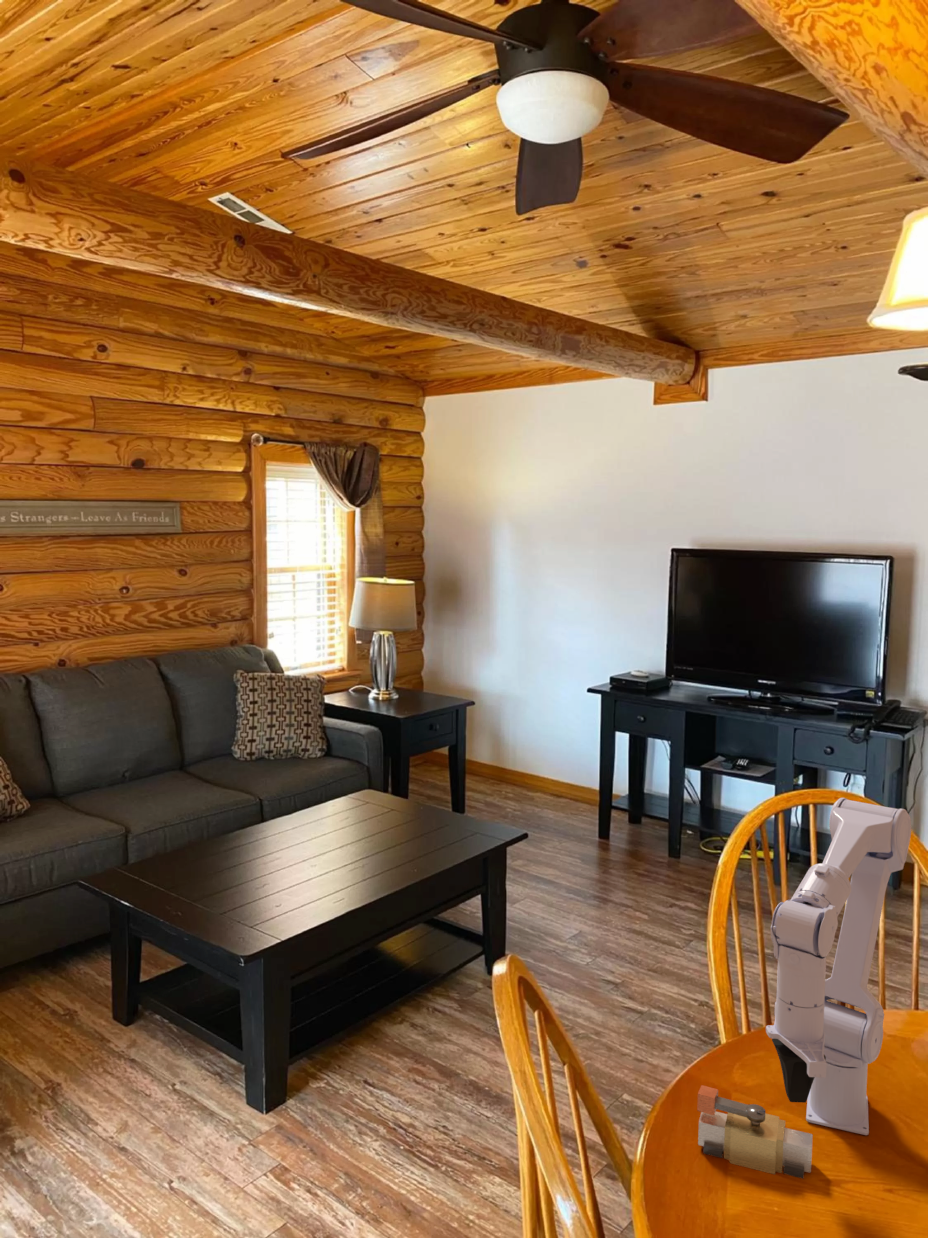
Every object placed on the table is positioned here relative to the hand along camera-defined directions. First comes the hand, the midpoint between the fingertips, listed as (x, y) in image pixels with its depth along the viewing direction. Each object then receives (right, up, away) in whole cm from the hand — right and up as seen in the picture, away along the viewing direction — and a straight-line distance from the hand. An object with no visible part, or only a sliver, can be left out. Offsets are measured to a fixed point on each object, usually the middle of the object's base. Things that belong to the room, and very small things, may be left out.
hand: (796, 1099), depth 118 cm
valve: (-4, -9, +3) cm, 11 cm away
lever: (-7, -4, +4) cm, 9 cm away
